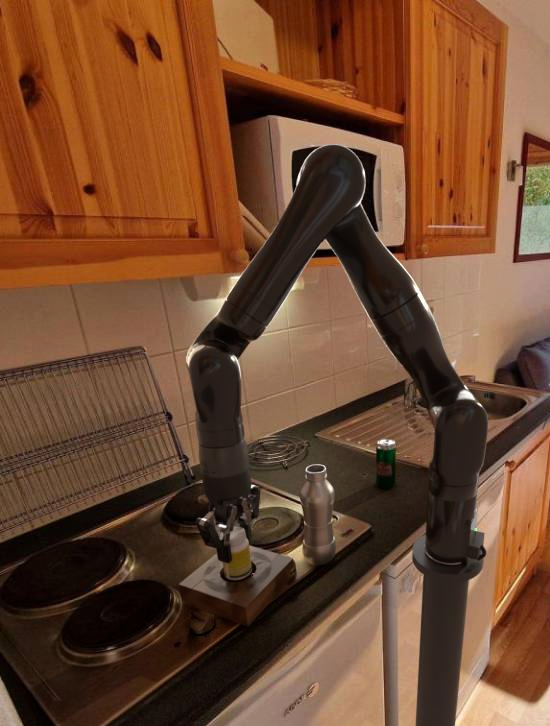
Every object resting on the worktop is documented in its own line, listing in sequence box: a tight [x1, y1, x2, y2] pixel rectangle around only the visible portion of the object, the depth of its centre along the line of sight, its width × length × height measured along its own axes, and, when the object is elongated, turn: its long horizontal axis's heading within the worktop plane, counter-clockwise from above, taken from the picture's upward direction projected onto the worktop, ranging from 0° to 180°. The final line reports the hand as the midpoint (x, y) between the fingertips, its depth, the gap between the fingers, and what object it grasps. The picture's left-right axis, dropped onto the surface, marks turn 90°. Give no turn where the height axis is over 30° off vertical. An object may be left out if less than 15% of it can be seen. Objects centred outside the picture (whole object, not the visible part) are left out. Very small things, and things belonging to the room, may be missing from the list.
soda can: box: [375, 438, 397, 490], centre depth 121 cm, size 5×5×12 cm
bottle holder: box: [178, 545, 295, 627], centre depth 86 cm, size 14×14×4 cm
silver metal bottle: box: [299, 463, 337, 566], centre depth 91 cm, size 6×7×20 cm
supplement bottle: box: [220, 525, 252, 581], centre depth 84 cm, size 5×5×8 cm
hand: (236, 552), depth 84 cm, fingers closed on supplement bottle, 4 cm apart
